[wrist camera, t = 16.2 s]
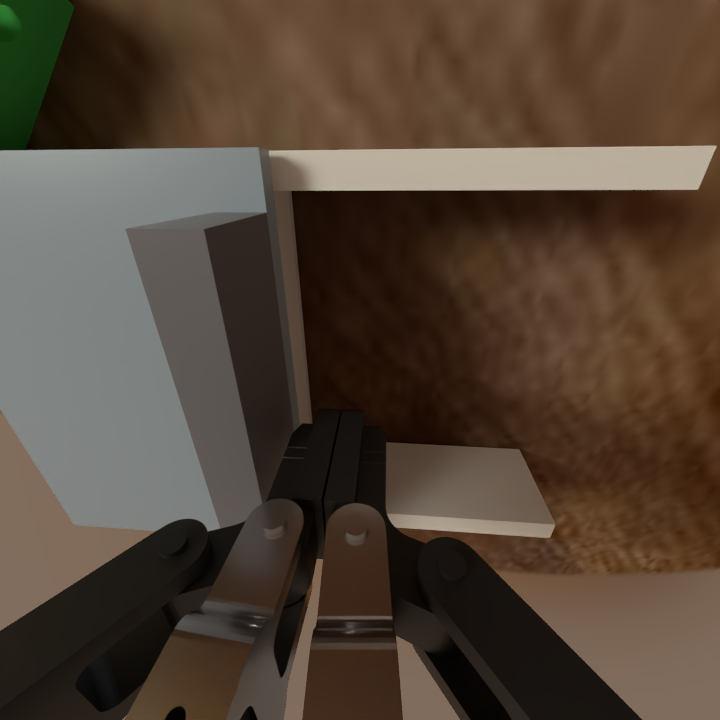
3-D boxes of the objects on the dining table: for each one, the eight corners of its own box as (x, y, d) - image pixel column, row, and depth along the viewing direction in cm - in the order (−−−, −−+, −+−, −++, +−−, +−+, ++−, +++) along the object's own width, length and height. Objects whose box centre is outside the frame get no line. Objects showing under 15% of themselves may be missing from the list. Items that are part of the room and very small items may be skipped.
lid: (268, 149, 9) (182, 128, 5) (311, 527, 17) (288, 628, 13) (-126, 154, 10) (-440, 139, 6) (86, 511, 18) (3, 601, 14)
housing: (605, 157, 13) (716, 145, 9) (515, 461, 20) (549, 538, 16) (20, 162, 15) (-138, 155, 10) (137, 441, 22) (75, 505, 18)
